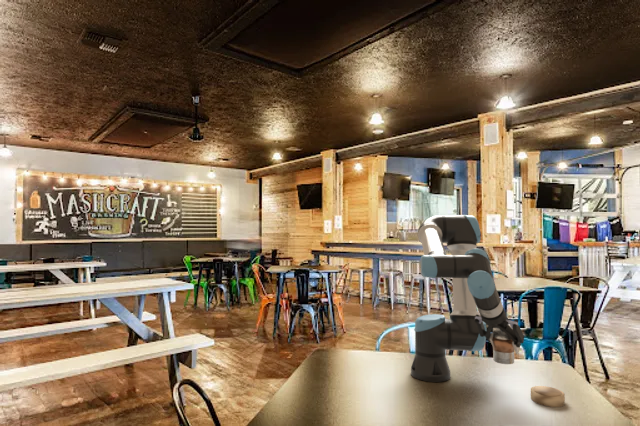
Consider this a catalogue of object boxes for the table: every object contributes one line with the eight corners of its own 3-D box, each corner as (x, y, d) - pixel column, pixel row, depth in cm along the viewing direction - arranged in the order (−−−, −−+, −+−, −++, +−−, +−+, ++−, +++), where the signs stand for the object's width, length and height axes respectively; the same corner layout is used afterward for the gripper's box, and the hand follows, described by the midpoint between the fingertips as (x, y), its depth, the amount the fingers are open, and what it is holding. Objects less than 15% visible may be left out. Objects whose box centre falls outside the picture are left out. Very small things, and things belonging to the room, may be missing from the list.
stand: (527, 401, 138) (527, 391, 139) (534, 392, 146) (534, 383, 146) (561, 409, 132) (561, 399, 132) (567, 399, 140) (567, 390, 140)
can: (490, 361, 142) (490, 325, 143) (496, 356, 148) (496, 321, 148) (511, 365, 138) (510, 328, 138) (516, 360, 143) (516, 324, 144)
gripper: (458, 314, 138) (476, 352, 150) (521, 323, 125) (535, 364, 137) (463, 296, 142) (480, 334, 154) (525, 303, 129) (539, 344, 141)
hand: (506, 348), depth 146 cm, fingers closed on can, 7 cm apart
